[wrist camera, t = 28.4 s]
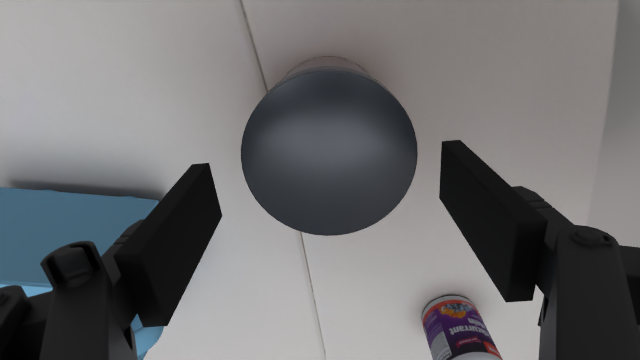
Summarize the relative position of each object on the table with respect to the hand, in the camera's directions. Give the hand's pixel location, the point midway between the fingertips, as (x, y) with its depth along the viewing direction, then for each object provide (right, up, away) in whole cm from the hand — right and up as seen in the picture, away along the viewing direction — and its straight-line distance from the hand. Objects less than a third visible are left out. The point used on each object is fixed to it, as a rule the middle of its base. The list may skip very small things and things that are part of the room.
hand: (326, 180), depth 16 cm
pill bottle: (+12, -13, +19) cm, 26 cm away
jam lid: (0, +1, +3) cm, 3 cm away
